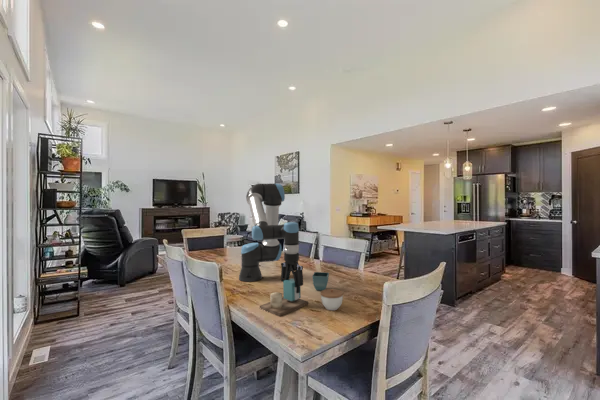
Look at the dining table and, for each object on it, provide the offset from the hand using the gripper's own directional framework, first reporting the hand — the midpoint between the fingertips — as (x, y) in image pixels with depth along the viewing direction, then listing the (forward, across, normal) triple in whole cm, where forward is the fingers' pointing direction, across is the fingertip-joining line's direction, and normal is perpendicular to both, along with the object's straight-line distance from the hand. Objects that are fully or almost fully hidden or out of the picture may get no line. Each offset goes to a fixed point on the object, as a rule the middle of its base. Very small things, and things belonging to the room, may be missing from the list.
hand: (292, 297), depth 150 cm
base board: (+3, 0, -6) cm, 6 cm away
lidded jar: (+3, +19, +8) cm, 21 cm away
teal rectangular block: (0, 0, 0) cm, 0 cm away
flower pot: (+3, -3, +28) cm, 28 cm away
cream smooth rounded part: (+3, 0, -11) cm, 11 cm away
